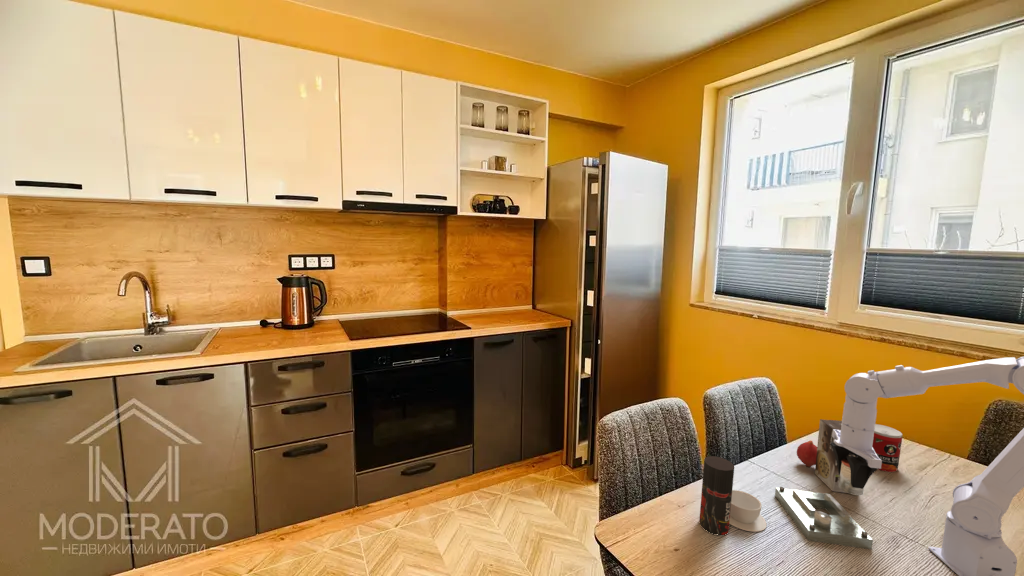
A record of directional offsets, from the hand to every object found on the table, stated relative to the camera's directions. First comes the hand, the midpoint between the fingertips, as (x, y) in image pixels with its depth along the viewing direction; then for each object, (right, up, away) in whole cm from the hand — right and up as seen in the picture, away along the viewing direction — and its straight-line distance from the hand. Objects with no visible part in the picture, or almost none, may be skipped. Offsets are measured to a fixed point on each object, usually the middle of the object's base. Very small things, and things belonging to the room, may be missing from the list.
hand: (850, 481), depth 94 cm
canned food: (+30, -8, +25) cm, 40 cm away
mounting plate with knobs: (-8, -9, 0) cm, 12 cm away
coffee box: (+8, -8, +15) cm, 19 cm away
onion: (+7, -7, +23) cm, 25 cm away
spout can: (0, -2, 0) cm, 2 cm away
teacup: (-26, -9, 0) cm, 27 cm away
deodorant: (-34, -9, -3) cm, 35 cm away
